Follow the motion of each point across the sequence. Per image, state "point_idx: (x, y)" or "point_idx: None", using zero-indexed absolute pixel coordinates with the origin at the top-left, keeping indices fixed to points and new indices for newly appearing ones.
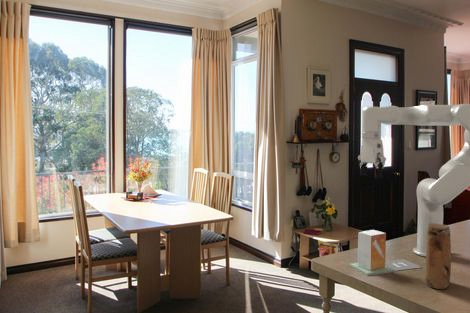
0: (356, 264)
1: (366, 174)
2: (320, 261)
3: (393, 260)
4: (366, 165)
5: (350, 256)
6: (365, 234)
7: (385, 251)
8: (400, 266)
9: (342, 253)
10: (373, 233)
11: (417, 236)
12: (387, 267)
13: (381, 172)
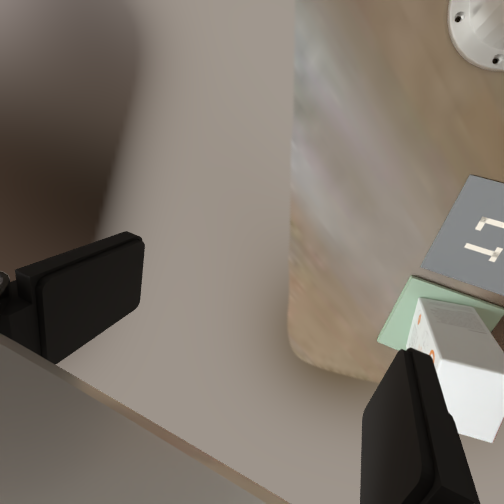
0: (394, 336)
1: (136, 255)
2: (308, 354)
3: (449, 215)
4: (3, 290)
5: (328, 273)
6: (459, 432)
7: (490, 333)
8: (501, 252)
9: (297, 267)
10: (481, 414)
11: (499, 10)
12: (480, 303)
13: (463, 462)
